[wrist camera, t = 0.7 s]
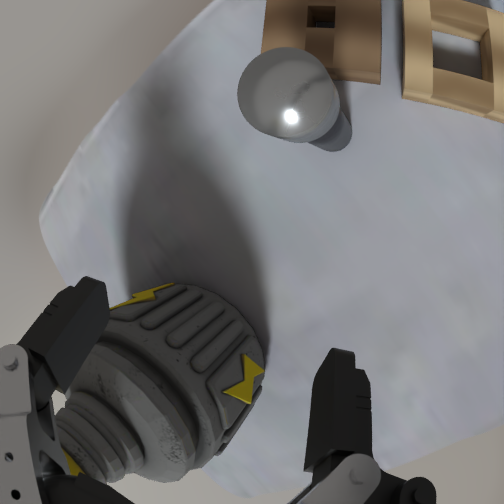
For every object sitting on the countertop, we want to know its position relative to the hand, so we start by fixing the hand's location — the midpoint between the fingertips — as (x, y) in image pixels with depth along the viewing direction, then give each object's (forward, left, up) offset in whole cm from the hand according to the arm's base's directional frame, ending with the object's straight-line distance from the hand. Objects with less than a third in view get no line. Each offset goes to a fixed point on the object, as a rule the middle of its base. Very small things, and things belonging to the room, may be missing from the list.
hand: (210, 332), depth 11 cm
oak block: (-18, +11, -21) cm, 29 cm away
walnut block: (-19, -1, -21) cm, 28 cm away
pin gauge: (-9, 0, -21) cm, 22 cm away
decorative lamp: (+17, -12, -21) cm, 30 cm away
